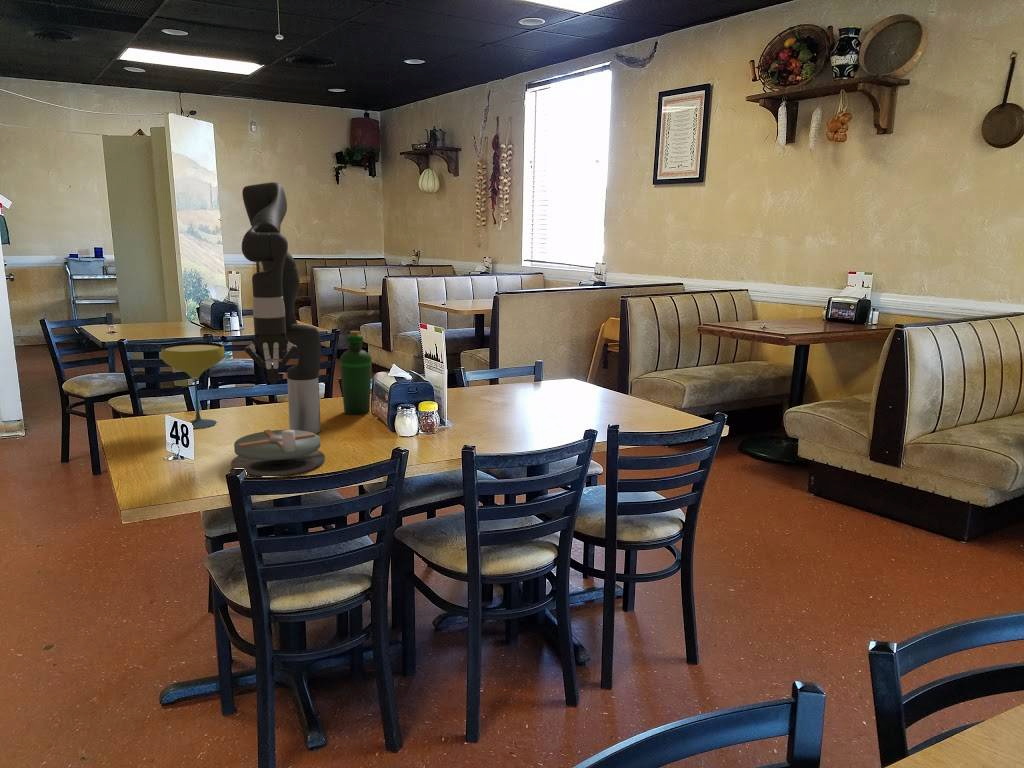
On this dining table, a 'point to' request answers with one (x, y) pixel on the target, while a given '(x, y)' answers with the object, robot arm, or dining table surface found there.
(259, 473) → the base
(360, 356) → the bottle
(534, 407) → the dining table surface
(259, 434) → the handwheel
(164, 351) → the cocktail glass
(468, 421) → the dining table surface
